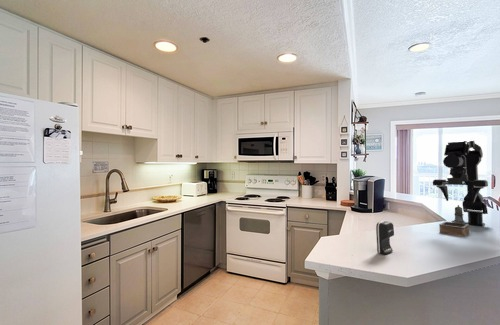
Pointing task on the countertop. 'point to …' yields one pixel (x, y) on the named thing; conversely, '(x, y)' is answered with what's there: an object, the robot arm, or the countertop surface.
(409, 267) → the countertop surface
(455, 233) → the holder
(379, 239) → the coffee maker
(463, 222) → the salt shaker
